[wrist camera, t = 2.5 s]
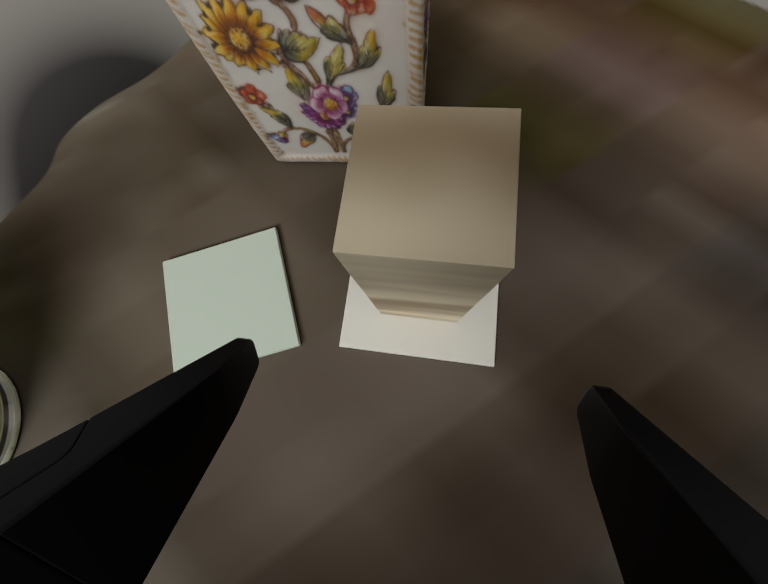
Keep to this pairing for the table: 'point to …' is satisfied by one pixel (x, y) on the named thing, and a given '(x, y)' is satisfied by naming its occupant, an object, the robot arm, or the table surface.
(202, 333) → the coaster
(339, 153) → the decorative jar
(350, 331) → the white tile
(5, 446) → the coffee can
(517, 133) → the birch block
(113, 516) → the robot arm
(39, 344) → the table surface
